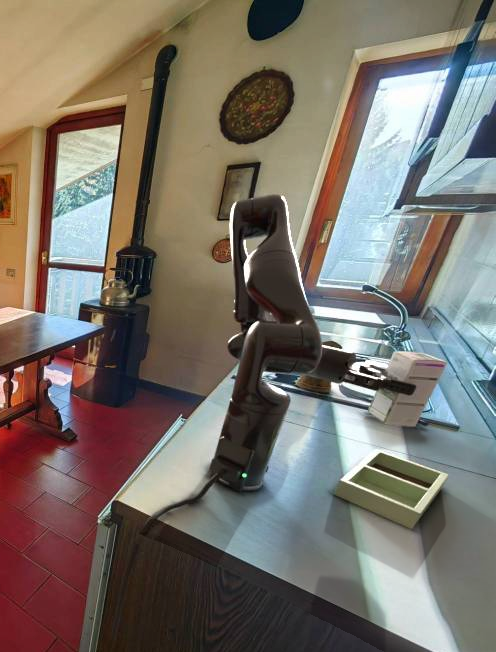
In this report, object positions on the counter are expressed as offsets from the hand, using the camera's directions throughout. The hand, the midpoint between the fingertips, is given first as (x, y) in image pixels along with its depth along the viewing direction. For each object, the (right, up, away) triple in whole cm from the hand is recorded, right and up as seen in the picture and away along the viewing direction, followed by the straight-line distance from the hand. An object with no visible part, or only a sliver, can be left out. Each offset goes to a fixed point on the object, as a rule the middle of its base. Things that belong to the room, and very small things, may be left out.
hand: (420, 386), depth 78 cm
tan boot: (+19, -1, +48) cm, 52 cm away
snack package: (+26, -10, +29) cm, 40 cm away
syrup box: (-1, -7, +5) cm, 9 cm away
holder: (-7, -21, 0) cm, 22 cm away
